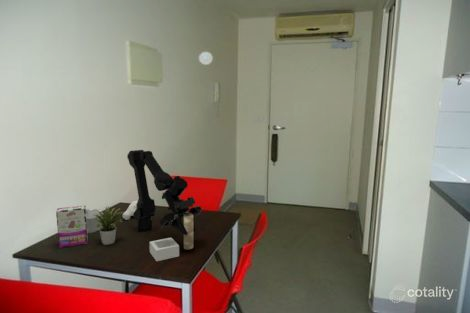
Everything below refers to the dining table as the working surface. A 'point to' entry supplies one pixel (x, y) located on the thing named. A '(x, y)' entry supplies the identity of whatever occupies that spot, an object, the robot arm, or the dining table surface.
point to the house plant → (108, 226)
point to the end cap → (164, 249)
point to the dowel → (188, 231)
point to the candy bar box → (72, 226)
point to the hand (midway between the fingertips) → (190, 233)
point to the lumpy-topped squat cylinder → (92, 220)
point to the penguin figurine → (130, 210)
